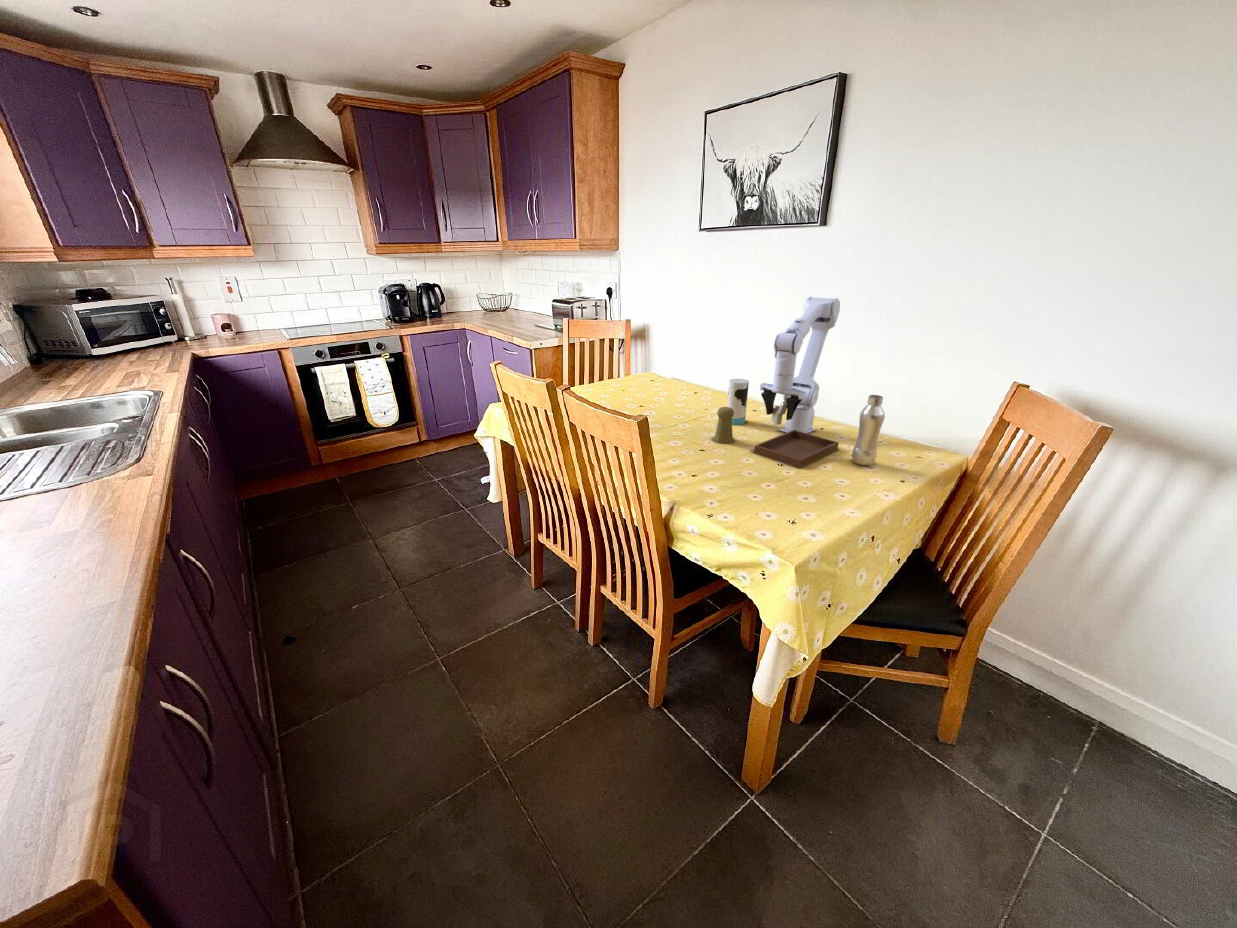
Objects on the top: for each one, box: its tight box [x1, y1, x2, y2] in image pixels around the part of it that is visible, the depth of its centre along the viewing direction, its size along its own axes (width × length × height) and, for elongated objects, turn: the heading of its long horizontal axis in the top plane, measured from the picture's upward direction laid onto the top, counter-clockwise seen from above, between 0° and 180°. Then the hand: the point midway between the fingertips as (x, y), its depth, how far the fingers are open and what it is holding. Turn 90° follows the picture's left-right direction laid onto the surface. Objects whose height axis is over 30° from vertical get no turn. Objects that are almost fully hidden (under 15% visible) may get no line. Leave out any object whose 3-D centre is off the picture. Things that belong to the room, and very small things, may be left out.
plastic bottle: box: [851, 394, 886, 466], centre depth 141 cm, size 6×7×20 cm
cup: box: [726, 378, 750, 426], centre depth 178 cm, size 7×7×15 cm
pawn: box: [713, 406, 734, 444], centre depth 162 cm, size 6×6×11 cm
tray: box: [753, 430, 839, 469], centre depth 154 cm, size 22×16×2 cm
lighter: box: [771, 401, 787, 426], centre depth 155 cm, size 7×2×8 cm, turn 6°
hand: (778, 416), depth 156 cm, fingers closed on lighter, 6 cm apart
